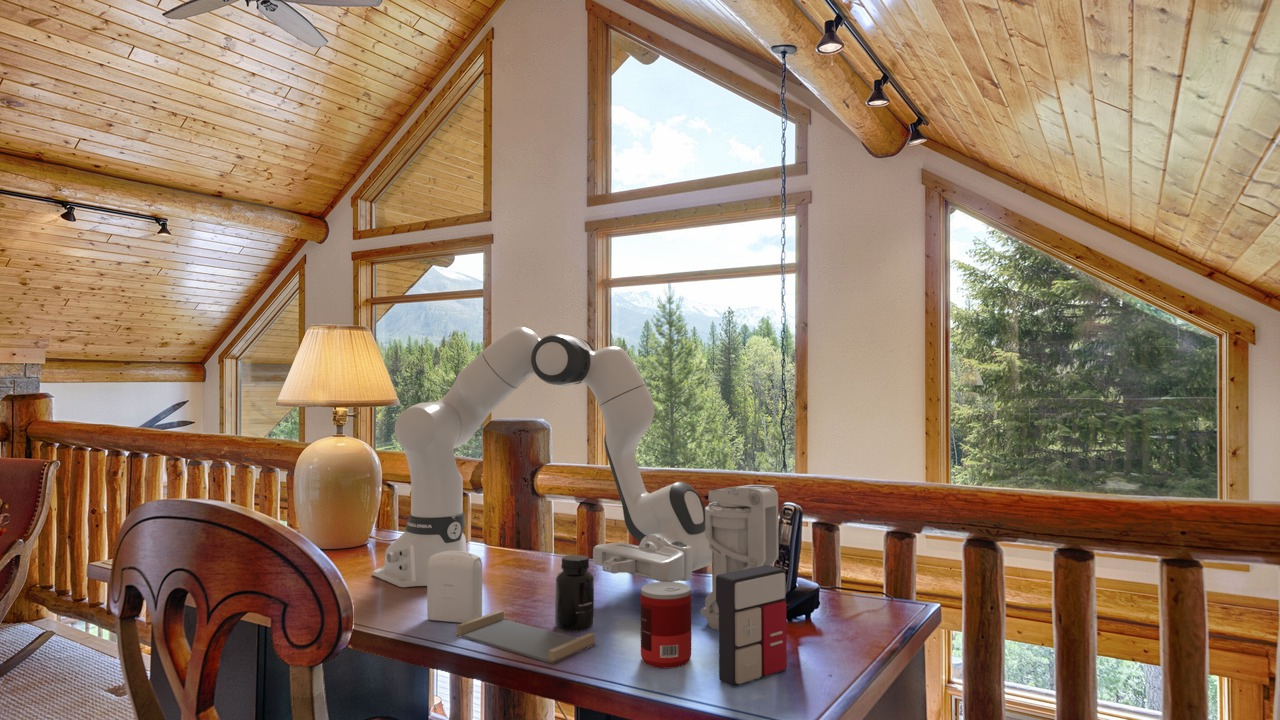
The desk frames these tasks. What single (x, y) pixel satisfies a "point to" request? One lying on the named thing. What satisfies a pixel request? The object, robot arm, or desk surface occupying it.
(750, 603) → the calculator
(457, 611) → the photo printer
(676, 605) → the canned food
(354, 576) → the desk surface
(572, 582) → the supplement bottle
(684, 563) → the robot arm
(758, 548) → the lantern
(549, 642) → the felt tray
